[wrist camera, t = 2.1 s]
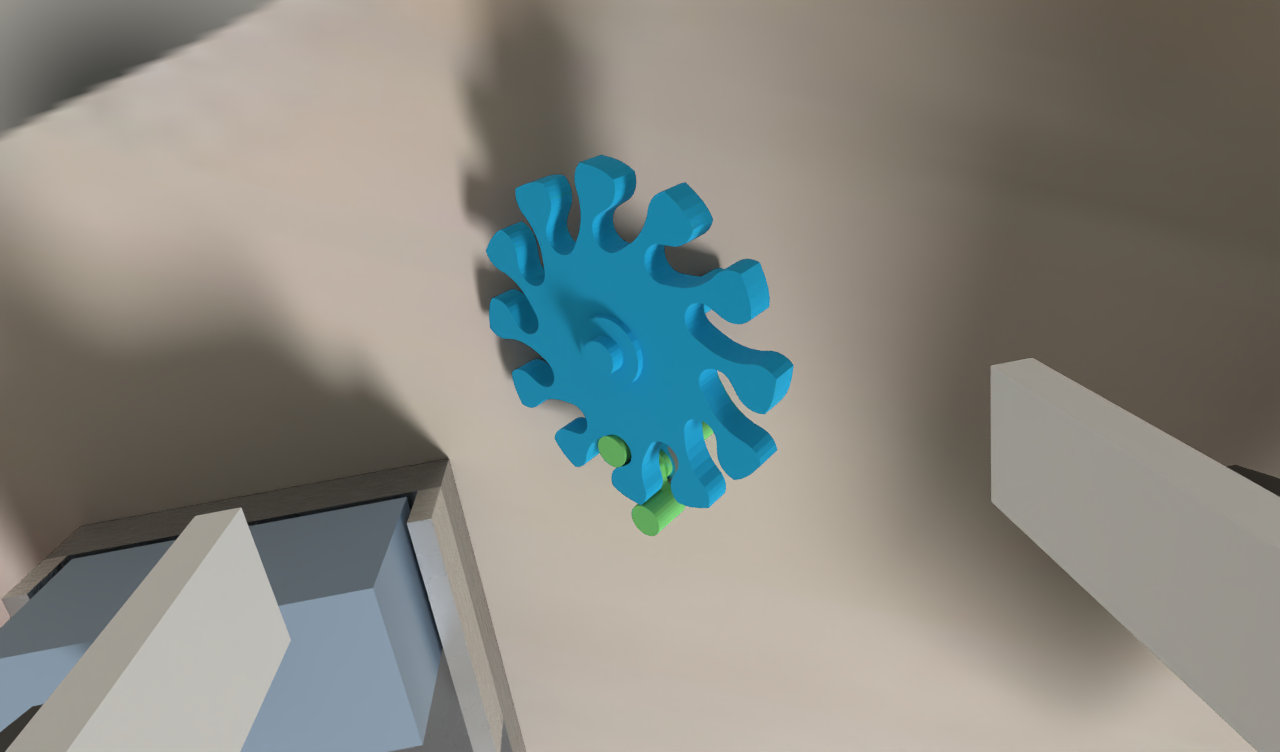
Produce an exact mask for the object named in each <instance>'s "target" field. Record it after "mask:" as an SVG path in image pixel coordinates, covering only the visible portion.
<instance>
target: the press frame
mask: <svg viewBox="0 0 1280 752" xmlns="http://www.w3.org/2000/svg"><path fill="white" fill-rule="evenodd" d="M404 497H407V500H408V504H409V507H410V510H411V513H410V515H409V518H408V521H407V526H408V529H409V532H410V536H411V539H412V543H413V546H414V550H415V553H416V557H417V560H418V563H419V567H420V570H421V574H422V577H423V581H424V584H425V587H426V591H427V594H428V598H429V601H430V605H431V608H432V611H433V615H434V618H435V622H436V625H437V629H438V632H439V635H440V639H441V642H442V646H443V649H442V654H441V659H440V663H439V668H438V673H437V678H436V683H435V688H434V693H433V698H432V703H431V707H430V712H429V717H428V722H427V727H426V732H425V737H424V742H423V745H420V746H415V747H410V748H405V749H400V750H395V751H390V752H526V750H525V746H524V742H523V739H522V735H521V731H520V727H519V723H518V720H517V716H516V712H515V708H514V704H513V701H512V697H511V693H510V689H509V685H508V682H507V678H506V674H505V670H504V666H503V663H502V659H501V655H500V651H499V647H498V644H497V640H496V636H495V632H494V628H493V624H492V621H491V617H490V613H489V609H488V605H487V602H486V598H485V594H484V590H483V586H482V583H481V579H480V575H479V571H478V567H477V564H476V560H475V556H474V552H473V548H472V545H471V541H470V537H469V533H468V529H467V526H466V522H465V518H464V514H463V510H462V507H461V503H460V499H459V495H458V491H457V488H456V484H455V480H454V476H453V472H452V469H451V465H450V461H449V459H445V460H439V461H434V462H428V463H423V464H418V465H412V466H407V467H401V468H396V469H390V470H385V471H379V472H374V473H369V474H363V475H358V476H352V477H347V478H341V479H336V480H331V481H325V482H320V483H314V484H309V485H303V486H298V487H292V488H287V489H282V490H276V491H271V492H265V493H260V494H254V495H249V496H244V497H238V498H233V499H227V500H222V501H216V502H211V503H205V504H200V505H195V506H189V507H184V508H178V509H173V510H167V511H162V512H157V513H151V514H146V515H140V516H135V517H129V518H124V519H118V520H113V521H108V522H102V523H97V524H91V525H86V526H81V527H79V528H78V529H77V530H76V531H75V532H74V533H73V534H72V535H71V536H70V537H68V538H67V539H66V540H65V541H64V542H63V543H62V544H61V545H60V546H59V547H58V548H56V549H55V550H54V551H53V552H52V553H51V554H50V555H49V556H48V557H47V558H46V559H44V560H43V561H42V562H41V563H40V564H39V565H38V566H37V567H36V568H35V569H33V570H32V571H31V572H30V573H29V574H28V575H27V576H26V577H25V578H24V579H23V580H21V581H20V582H19V583H18V584H17V585H16V586H15V587H14V588H13V589H12V590H11V591H9V592H8V593H7V594H6V595H5V596H4V597H3V598H2V601H3V603H4V605H5V607H6V609H7V611H8V613H9V615H10V617H11V618H12V617H13V616H14V615H15V614H16V613H17V612H18V611H19V610H20V609H21V608H22V607H23V606H24V605H25V604H26V603H27V602H28V601H29V600H30V599H31V598H32V597H33V596H34V595H35V594H36V593H37V592H38V591H39V590H41V589H42V588H43V587H44V586H45V585H46V584H47V583H48V582H49V581H50V580H51V579H52V578H53V577H54V576H55V575H56V574H57V573H58V572H59V571H60V570H61V569H62V568H63V567H64V566H65V565H66V564H67V563H68V562H70V561H71V560H72V559H75V558H80V557H86V556H91V555H97V554H102V553H107V552H113V551H118V550H124V549H129V548H134V547H140V546H145V545H150V544H156V543H161V542H167V541H172V540H176V539H177V538H178V537H179V536H180V534H181V533H182V532H183V531H184V529H185V528H186V527H187V526H188V524H189V523H190V522H191V521H192V519H193V518H194V517H195V516H198V515H203V514H208V513H214V512H219V511H224V510H229V509H235V508H240V507H241V508H242V511H243V513H244V516H245V519H246V521H247V524H248V526H253V525H258V524H264V523H269V522H275V521H280V520H285V519H291V518H296V517H302V516H307V515H312V514H318V513H323V512H329V511H334V510H339V509H345V508H350V507H355V506H361V505H366V504H372V503H377V502H382V501H388V500H393V499H399V498H404Z"/></svg>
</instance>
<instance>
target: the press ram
mask: <svg viewBox="0 0 1280 752" xmlns="http://www.w3.org/2000/svg"><path fill="white" fill-rule="evenodd" d="M410 513H411V510H410V507H409V504H408V500H407V497H404V498H399V499H393V500H388V501H382V502H377V503H372V504H366V505H361V506H355V507H350V508H345V509H339V510H334V511H329V512H323V513H318V514H312V515H307V516H302V517H296V518H291V519H285V520H280V521H275V522H269V523H264V524H258V525H253V526H248V527H249V529H250V532H251V535H252V537H253V540H254V543H255V545H256V548H257V551H258V553H259V556H260V559H261V561H262V564H263V567H264V569H265V572H266V575H267V577H268V580H269V583H270V585H271V588H272V591H273V593H274V596H275V599H276V601H277V604H278V607H279V609H280V612H281V615H282V617H283V620H284V623H285V625H286V628H287V631H288V633H289V636H290V639H291V641H290V643H289V646H288V648H287V650H286V652H285V654H284V657H283V659H282V661H281V663H280V665H279V668H278V670H277V672H276V674H275V676H274V679H273V681H272V683H271V685H270V687H269V690H268V692H267V694H266V696H265V698H264V701H263V703H262V705H261V707H260V709H259V711H258V714H257V716H256V718H255V720H254V722H253V725H252V727H251V729H250V731H249V733H248V736H247V738H246V740H245V742H244V744H243V747H242V749H241V751H240V752H390V751H395V750H400V749H405V748H410V747H415V746H420V745H423V742H424V737H425V732H426V727H427V722H428V717H429V712H430V707H431V703H432V698H433V693H434V688H435V683H436V678H437V673H438V668H439V663H440V659H441V654H442V649H443V646H442V642H441V639H440V635H439V632H438V629H437V625H436V622H435V618H434V615H433V611H432V608H431V605H430V601H429V598H428V594H427V591H426V587H425V584H424V581H423V577H422V574H421V570H420V567H419V563H418V560H417V557H416V553H415V550H414V546H413V543H412V539H411V536H410V532H409V529H408V526H407V521H408V518H409V515H410ZM175 541H176V540H172V541H167V542H161V543H156V544H150V545H145V546H140V547H134V548H129V549H124V550H118V551H113V552H107V553H102V554H97V555H91V556H86V557H80V558H75V559H72V560H71V561H70V562H68V563H67V564H66V565H65V566H64V567H63V568H62V569H61V570H60V571H59V572H58V573H57V574H56V575H55V576H54V577H53V578H52V579H51V580H50V581H49V582H48V583H47V584H46V585H45V586H44V587H43V588H42V589H41V590H39V591H38V592H37V593H36V594H35V595H34V596H33V597H32V598H31V599H30V600H29V601H28V602H27V603H26V604H25V605H24V606H23V607H22V608H21V609H20V610H19V611H18V612H17V613H16V614H15V615H14V616H13V617H12V618H10V619H9V620H8V621H7V622H6V623H5V624H4V625H3V626H2V627H1V628H0V732H1V731H2V730H3V729H5V728H6V727H7V726H8V725H10V724H11V723H12V722H13V721H15V720H16V719H17V718H18V717H20V716H21V715H22V714H23V713H25V712H26V711H27V710H28V709H30V708H31V707H32V706H37V705H42V704H44V703H45V702H46V700H47V699H48V698H49V697H50V695H51V694H52V693H53V692H54V690H55V689H56V688H57V687H58V686H59V684H60V683H61V682H62V681H63V679H64V678H65V677H66V676H67V674H68V673H69V672H70V671H71V669H72V668H73V667H74V666H75V664H76V663H77V662H78V661H79V659H80V658H81V657H82V656H83V655H84V653H85V652H86V651H87V650H88V648H89V647H90V646H91V645H92V643H93V642H94V641H95V640H96V638H97V637H98V636H99V635H100V633H101V632H102V631H103V630H104V629H105V627H106V626H107V625H108V624H109V622H110V621H111V620H112V619H113V617H114V616H115V615H116V614H117V612H118V611H119V610H120V609H121V607H122V606H123V605H124V604H125V602H126V601H127V600H128V599H129V598H130V596H131V595H132V594H133V593H134V591H135V590H136V589H137V588H138V586H139V585H140V584H141V583H142V581H143V580H144V579H145V578H146V576H147V575H148V574H149V573H150V572H151V570H152V569H153V568H154V567H155V565H156V564H157V563H158V562H159V560H160V559H161V558H162V557H163V555H164V554H165V553H166V552H167V550H168V549H169V548H170V547H171V545H172V544H173V543H174V542H175Z"/></svg>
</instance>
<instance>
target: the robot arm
mask: <svg viewBox="0 0 1280 752" xmlns="http://www.w3.org/2000/svg"><path fill="white" fill-rule="evenodd" d="M991 502H992V503H993V504H994V505H995V506H996V507H997V508H998V509H1000V510H1001V511H1002V512H1003V513H1004V514H1005V515H1006V516H1007V517H1008V518H1009V519H1010V520H1011V521H1012V522H1013V523H1014V524H1016V525H1017V526H1018V527H1019V528H1020V529H1021V530H1022V531H1023V532H1024V533H1025V534H1026V535H1027V536H1028V537H1029V538H1030V539H1032V540H1033V541H1034V542H1035V543H1036V544H1037V545H1038V546H1039V547H1040V548H1041V549H1042V550H1043V551H1044V552H1045V553H1046V554H1048V555H1049V556H1050V557H1051V558H1052V559H1053V560H1054V561H1055V562H1056V563H1057V564H1058V565H1059V566H1060V567H1061V568H1062V569H1064V570H1065V571H1066V572H1067V573H1068V574H1069V575H1070V576H1071V577H1072V578H1073V579H1074V580H1075V581H1076V582H1077V583H1078V584H1080V585H1081V586H1082V587H1083V588H1084V589H1085V590H1086V591H1087V592H1088V593H1089V594H1090V595H1091V596H1092V597H1093V598H1094V599H1096V600H1097V601H1098V602H1099V603H1100V604H1101V605H1102V606H1103V607H1104V608H1105V609H1106V610H1107V611H1108V612H1109V613H1110V614H1112V615H1113V616H1114V617H1115V618H1116V619H1117V620H1118V621H1119V622H1120V623H1121V624H1122V625H1123V626H1124V627H1125V628H1126V629H1128V630H1129V631H1130V632H1131V633H1132V634H1133V635H1134V636H1135V637H1136V638H1137V639H1138V640H1139V641H1140V642H1141V643H1142V644H1144V645H1145V646H1146V647H1147V648H1148V649H1149V650H1150V651H1151V652H1152V653H1153V654H1154V655H1155V656H1156V657H1157V658H1158V659H1160V660H1161V661H1162V662H1163V663H1164V664H1165V665H1166V666H1167V667H1168V668H1169V669H1170V670H1171V671H1172V672H1173V673H1174V674H1176V675H1177V676H1178V677H1179V678H1180V679H1181V680H1182V681H1183V682H1184V683H1185V684H1186V685H1187V686H1188V687H1189V688H1190V689H1192V690H1193V691H1194V692H1195V693H1196V694H1197V695H1198V696H1199V697H1200V698H1201V699H1202V700H1203V701H1204V702H1205V703H1206V704H1208V705H1209V706H1210V707H1211V708H1212V709H1213V710H1214V711H1215V712H1216V713H1217V714H1218V715H1219V716H1220V717H1221V718H1222V719H1224V720H1225V721H1226V722H1227V723H1228V724H1229V725H1230V726H1231V727H1232V728H1233V729H1234V730H1235V731H1236V732H1237V733H1238V734H1239V735H1241V736H1242V737H1243V738H1244V739H1245V740H1246V741H1247V742H1248V743H1249V744H1250V745H1251V746H1252V747H1253V748H1254V749H1255V750H1257V751H1258V752H1280V479H1279V478H1276V477H1273V476H1270V475H1266V474H1263V473H1260V472H1257V471H1253V470H1250V469H1247V468H1244V467H1241V466H1237V465H1232V466H1227V467H1226V466H1224V465H1222V464H1220V463H1219V462H1217V461H1215V460H1213V459H1211V458H1210V457H1208V456H1206V455H1204V454H1203V453H1201V452H1199V451H1197V450H1195V449H1194V448H1192V447H1190V446H1188V445H1187V444H1185V443H1183V442H1181V441H1179V440H1178V439H1176V438H1174V437H1172V436H1171V435H1169V434H1167V433H1165V432H1163V431H1162V430H1160V429H1158V428H1156V427H1155V426H1153V425H1151V424H1149V423H1147V422H1146V421H1144V420H1142V419H1140V418H1139V417H1137V416H1135V415H1133V414H1132V413H1130V412H1128V411H1126V410H1124V409H1123V408H1121V407H1119V406H1117V405H1116V404H1114V403H1112V402H1110V401H1108V400H1107V399H1105V398H1103V397H1101V396H1100V395H1098V394H1096V393H1094V392H1092V391H1091V390H1089V389H1087V388H1085V387H1084V386H1082V385H1080V384H1078V383H1076V382H1075V381H1073V380H1071V379H1069V378H1068V377H1066V376H1064V375H1062V374H1060V373H1059V372H1057V371H1055V370H1053V369H1052V368H1050V367H1048V366H1046V365H1044V364H1043V363H1041V362H1039V361H1037V360H1036V359H1034V358H1027V359H1022V360H1017V361H1012V362H1006V363H1001V364H996V365H991ZM290 641H291V639H290V636H289V633H288V631H287V628H286V625H285V623H284V620H283V617H282V615H281V612H280V609H279V607H278V604H277V601H276V599H275V596H274V593H273V591H272V588H271V585H270V583H269V580H268V577H267V575H266V572H265V569H264V567H263V564H262V561H261V559H260V556H259V553H258V551H257V548H256V545H255V543H254V540H253V537H252V535H251V532H250V529H249V527H248V524H247V521H246V519H245V516H244V513H243V511H242V508H241V507H240V508H235V509H229V510H224V511H219V512H214V513H208V514H203V515H198V516H195V517H194V518H193V519H192V521H191V522H190V523H189V524H188V526H187V527H186V528H185V529H184V531H183V532H182V533H181V534H180V536H179V537H178V538H177V539H176V541H175V542H174V543H173V544H172V545H171V547H170V548H169V549H168V550H167V552H166V553H165V554H164V555H163V557H162V558H161V559H160V560H159V562H158V563H157V564H156V565H155V567H154V568H153V569H152V570H151V572H150V573H149V574H148V575H147V576H146V578H145V579H144V580H143V581H142V583H141V584H140V585H139V586H138V588H137V589H136V590H135V591H134V593H133V594H132V595H131V596H130V598H129V599H128V600H127V601H126V602H125V604H124V605H123V606H122V607H121V609H120V610H119V611H118V612H117V614H116V615H115V616H114V617H113V619H112V620H111V621H110V622H109V624H108V625H107V626H106V627H105V629H104V630H103V631H102V632H101V633H100V635H99V636H98V637H97V638H96V640H95V641H94V642H93V643H92V645H91V646H90V647H89V648H88V650H87V651H86V652H85V653H84V655H83V656H82V657H81V658H80V659H79V661H78V662H77V663H76V664H75V666H74V667H73V668H72V669H71V671H70V672H69V673H68V674H67V676H66V677H65V678H64V679H63V681H62V682H61V683H60V684H59V686H58V687H57V688H56V689H55V690H54V692H53V693H52V694H51V695H50V697H49V698H48V699H47V700H46V702H45V703H44V704H42V705H37V706H32V707H31V708H30V709H28V710H27V711H26V712H25V713H23V714H22V715H21V716H20V717H18V718H17V719H16V720H15V721H13V722H12V723H11V724H10V725H8V726H7V727H6V728H5V729H3V730H2V731H1V732H0V752H240V751H241V749H242V747H243V744H244V742H245V740H246V738H247V736H248V733H249V731H250V729H251V727H252V725H253V722H254V720H255V718H256V716H257V714H258V711H259V709H260V707H261V705H262V703H263V701H264V698H265V696H266V694H267V692H268V690H269V687H270V685H271V683H272V681H273V679H274V676H275V674H276V672H277V670H278V668H279V665H280V663H281V661H282V659H283V657H284V654H285V652H286V650H287V648H288V646H289V643H290Z"/></svg>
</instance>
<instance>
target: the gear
mask: <svg viewBox="0 0 1280 752" xmlns="http://www.w3.org/2000/svg"><path fill="white" fill-rule="evenodd" d="M574 180H575V187H576V190H577V193H578V197H579V203H580V211H581V222H580V230H579V234H578V238H577V241H574V239H573V238H572V237H571V235H570V233H569V231H568V227H567V217H568V214H569V211H570V208H571V204H572V191H571V187H570V184H569V182H568V180H567V179H566V177H565V176H564V175H558V174H557V175H550V176H546V177H543V178H541V179H538V180H535V181H532V182H529V183H527V184H524V185H522V186H520V187H517V188H516V189H515V195H516V201H517V203H518V206H519V208H520V210H521V212H522V213H523V215H524V216H525V217H526V219H527V220H528V222H529V223H530V225H531V227H532V228H533V230H534V233H535V235H536V237H537V239H538V242H539V245H540V248H541V253H542V258H543V264H544V268H543V267H542V265H541V262H540V259H539V254H538V247H537V242H536V239H535V236H534V234H533V232H532V230H531V229H530V228H529V227H528V226H527V225H526V224H525V223H524V222H522V221H521V222H519V223H516V224H514V225H511V226H509V227H506V228H504V229H501V230H499V231H498V232H496V233H495V235H494V236H493V237H492V239H491V240H490V242H489V245H488V247H487V249H486V252H487V255H488V257H489V259H490V261H491V262H492V263H493V265H494V266H495V267H496V268H497V269H499V270H500V271H502V272H504V273H505V274H507V275H508V276H509V277H510V278H512V279H513V281H514V282H515V283H516V284H517V285H518V286H519V287H520V288H521V290H522V291H523V292H524V294H525V295H526V296H525V295H524V294H523V293H522V292H520V291H518V290H516V289H511V290H509V291H506V292H504V293H502V294H500V295H498V296H496V297H494V298H492V299H491V302H490V308H489V319H490V328H491V329H492V331H493V332H494V333H495V334H496V335H497V336H499V337H501V338H504V339H514V340H518V341H520V342H523V343H525V344H526V345H528V346H530V347H531V348H532V349H534V350H535V351H536V352H537V353H538V354H539V355H540V356H542V357H543V358H544V359H545V360H546V361H547V362H548V363H549V365H550V366H551V367H550V366H549V365H548V364H547V363H546V362H544V361H543V360H540V359H534V360H532V361H530V362H528V363H526V364H525V365H523V366H521V367H519V368H517V369H516V370H514V371H513V372H512V377H513V381H514V385H515V388H516V390H517V393H518V395H519V398H520V400H521V402H522V404H523V405H525V406H527V407H530V408H534V407H536V406H538V405H539V404H541V403H543V402H544V401H546V400H548V399H558V400H562V401H565V402H568V403H571V404H574V405H576V406H577V407H578V408H579V409H580V410H581V411H582V412H583V414H584V415H585V417H586V418H583V417H579V418H577V419H575V420H573V421H572V422H570V423H569V424H567V425H566V426H565V427H563V428H562V429H560V430H559V431H557V433H556V435H555V440H556V442H557V444H558V445H559V447H560V448H561V450H562V451H563V453H564V454H565V455H566V457H567V458H568V459H569V460H570V461H571V462H572V464H573V465H574V466H575V467H580V466H583V465H584V464H585V463H587V462H588V461H589V460H591V459H592V458H594V457H595V456H596V455H598V454H599V453H600V454H601V456H602V458H603V459H604V460H605V461H606V462H607V463H608V464H610V465H611V466H613V467H617V468H616V469H615V470H614V471H613V473H612V483H613V486H614V487H615V488H616V489H617V490H618V491H620V492H621V493H622V494H623V495H625V496H626V497H628V498H629V499H631V500H633V501H634V502H636V503H638V504H637V505H636V506H635V507H634V508H633V509H632V519H633V521H634V523H635V525H636V526H637V528H638V529H639V530H640V531H641V532H643V533H644V534H646V535H649V536H655V535H656V534H658V533H659V532H660V531H661V530H662V529H663V528H664V527H665V526H667V525H668V524H669V523H670V522H671V521H672V520H673V519H674V518H675V517H677V516H678V515H679V514H680V513H681V512H682V511H683V510H684V508H685V506H689V507H695V508H709V507H710V506H711V505H712V504H713V503H714V502H715V501H716V500H718V499H719V498H720V497H721V496H722V495H723V494H724V493H725V490H726V483H725V480H724V477H723V475H722V473H721V472H720V470H719V469H718V468H717V466H716V465H715V463H714V462H713V460H712V458H711V457H710V455H709V452H708V450H707V448H706V444H705V441H704V440H705V439H706V438H708V437H709V436H710V435H711V434H712V433H714V434H715V436H716V441H717V455H718V460H719V463H720V465H721V467H722V468H723V470H724V471H725V472H726V473H727V474H728V475H729V476H730V477H731V478H732V479H734V480H737V479H742V478H744V477H747V476H748V475H750V474H751V473H753V472H754V471H755V470H756V469H757V468H758V467H760V466H761V465H762V464H763V463H764V462H765V461H766V460H767V459H768V458H769V457H770V456H771V455H772V454H773V453H775V452H776V451H777V447H776V444H775V442H774V440H773V438H772V437H771V436H770V434H769V433H768V432H767V431H765V430H764V429H763V428H761V427H759V426H758V425H756V424H754V423H753V422H752V421H751V420H749V419H748V418H747V417H746V416H745V415H744V414H743V413H742V412H741V411H740V410H739V409H738V408H737V407H736V406H735V404H734V403H733V402H732V400H731V399H730V397H729V395H728V394H727V392H726V390H725V388H724V386H723V384H722V383H721V381H720V379H719V376H718V373H717V370H718V371H721V372H722V373H723V374H725V375H726V377H727V378H728V379H729V381H730V382H731V384H732V386H733V388H734V390H735V392H736V394H737V395H738V397H739V399H740V400H741V402H742V403H743V404H744V405H745V406H746V407H747V408H749V409H750V410H752V411H754V412H756V413H759V414H766V413H767V412H768V411H769V410H770V409H771V408H772V407H774V406H775V405H776V404H777V403H778V402H779V401H781V400H782V399H783V397H784V396H785V395H786V393H787V391H788V389H789V386H790V383H791V379H792V373H793V366H794V365H793V364H792V363H791V361H790V360H789V359H788V358H786V357H785V356H784V355H782V354H780V353H778V352H774V351H760V350H754V349H750V348H747V347H744V346H742V345H740V344H738V343H736V342H734V341H732V340H731V339H730V338H728V337H727V336H726V335H724V334H723V333H722V332H721V331H719V330H718V329H717V328H716V327H715V326H713V325H712V324H711V323H710V322H709V320H708V319H707V317H706V315H705V313H707V312H708V311H710V310H711V309H712V310H713V311H715V312H716V313H717V314H718V315H719V316H721V317H722V318H723V319H725V320H726V321H728V322H731V323H734V324H743V323H746V322H748V321H750V320H751V319H753V318H754V317H755V316H757V315H758V314H760V313H761V312H763V311H764V310H765V309H767V308H768V307H769V300H770V297H769V290H768V286H767V282H766V278H765V275H764V272H763V270H762V267H761V264H760V262H758V261H755V260H752V259H743V260H740V261H738V262H736V263H734V264H733V265H731V266H729V267H728V268H726V269H722V268H716V269H713V270H712V271H710V272H708V273H707V274H705V275H703V276H701V277H700V276H692V275H687V274H682V273H679V272H677V271H675V270H674V269H673V268H672V267H671V266H670V265H669V263H668V261H667V259H666V256H665V250H664V248H665V245H666V246H674V247H677V246H682V245H683V244H685V243H687V242H689V241H691V240H693V239H695V238H697V237H699V236H701V235H702V234H704V233H706V232H707V231H708V230H709V228H710V226H711V225H712V221H713V218H712V216H711V214H710V212H709V210H708V208H707V207H706V205H705V204H704V202H703V201H702V200H701V198H700V197H699V196H698V195H697V194H696V193H695V192H694V191H693V190H692V188H691V187H690V186H689V185H688V184H687V183H686V182H685V183H681V184H678V185H676V186H674V187H671V188H669V189H667V190H664V191H662V192H660V193H658V194H657V195H655V196H654V197H653V198H652V200H651V202H650V204H649V207H648V213H647V218H646V221H645V224H644V227H643V228H642V230H641V232H640V234H639V235H638V237H637V238H636V239H635V240H634V241H633V242H632V243H628V242H626V241H624V240H623V239H622V238H621V237H620V236H619V235H618V234H617V232H616V230H615V228H614V224H613V214H614V211H615V209H616V208H617V207H618V206H619V205H621V204H622V203H624V202H625V201H627V200H628V199H630V198H631V197H632V195H633V194H634V191H635V188H636V175H635V171H634V170H633V169H631V168H630V167H629V166H628V165H626V164H625V163H623V162H621V161H619V160H616V159H614V158H611V157H608V156H604V155H599V156H596V157H593V158H591V159H588V160H585V161H582V162H579V164H578V166H577V167H576V171H575V178H574Z"/></svg>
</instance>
